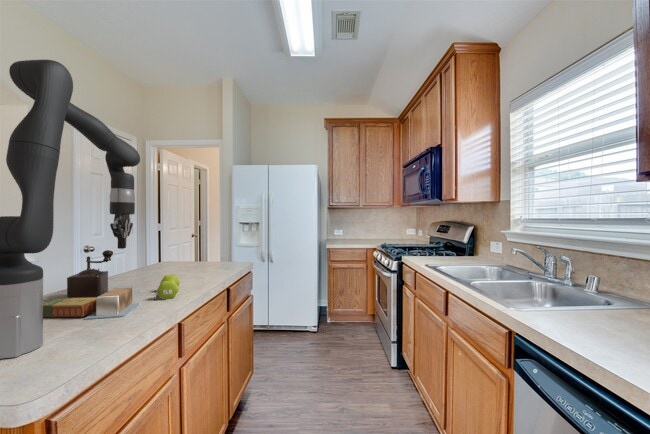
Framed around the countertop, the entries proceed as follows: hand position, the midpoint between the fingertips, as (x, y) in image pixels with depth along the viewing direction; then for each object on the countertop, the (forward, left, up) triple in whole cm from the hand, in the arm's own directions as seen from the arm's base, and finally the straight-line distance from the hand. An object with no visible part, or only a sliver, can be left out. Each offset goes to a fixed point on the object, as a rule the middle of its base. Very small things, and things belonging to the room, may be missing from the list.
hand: (121, 248), depth 102 cm
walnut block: (+1, 0, -18) cm, 18 cm away
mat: (-6, 0, -21) cm, 22 cm away
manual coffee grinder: (+19, +18, -22) cm, 34 cm away
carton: (-5, +13, -21) cm, 25 cm away
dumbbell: (+13, -13, -22) cm, 28 cm away
